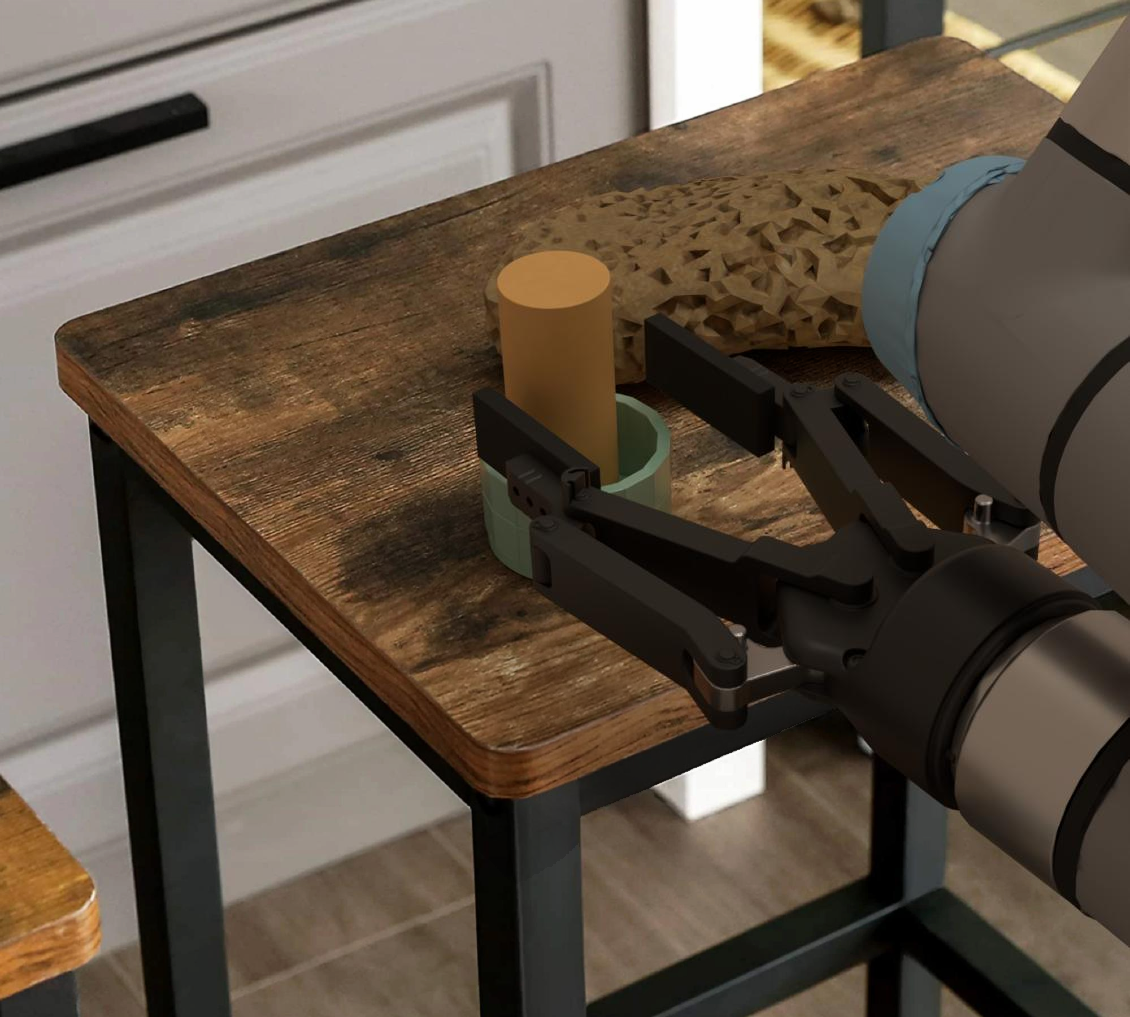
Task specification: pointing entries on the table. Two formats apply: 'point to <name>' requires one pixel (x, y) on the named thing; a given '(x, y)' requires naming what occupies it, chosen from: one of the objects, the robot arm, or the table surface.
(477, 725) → the table surface
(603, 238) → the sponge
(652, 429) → the green ceramic dish
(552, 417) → the tall orange cylinder
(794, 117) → the table surface
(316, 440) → the table surface
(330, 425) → the table surface
